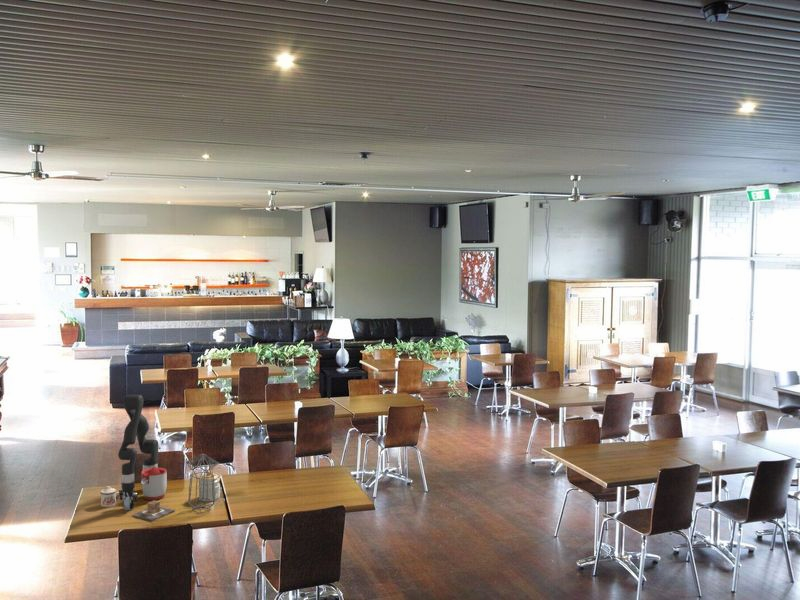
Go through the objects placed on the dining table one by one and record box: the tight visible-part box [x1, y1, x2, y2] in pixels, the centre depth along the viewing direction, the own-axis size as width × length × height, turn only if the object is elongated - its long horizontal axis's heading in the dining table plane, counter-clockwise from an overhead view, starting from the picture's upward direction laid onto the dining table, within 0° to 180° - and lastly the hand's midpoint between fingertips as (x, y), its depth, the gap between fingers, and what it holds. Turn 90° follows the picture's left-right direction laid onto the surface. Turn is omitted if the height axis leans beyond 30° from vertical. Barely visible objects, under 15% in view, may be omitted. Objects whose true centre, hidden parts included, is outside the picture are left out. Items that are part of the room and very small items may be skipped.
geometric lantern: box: [185, 453, 220, 514], centre depth 446 cm, size 16×16×35 cm
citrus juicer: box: [140, 467, 168, 501], centre depth 466 cm, size 16×17×20 cm
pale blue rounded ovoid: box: [123, 497, 133, 511], centre depth 446 cm, size 5×5×6 cm
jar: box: [199, 470, 221, 502], centre depth 467 cm, size 13×13×18 cm
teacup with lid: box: [100, 485, 120, 508], centre depth 453 cm, size 12×9×12 cm
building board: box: [131, 506, 176, 522], centre depth 439 cm, size 18×16×2 cm
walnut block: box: [146, 500, 161, 514], centre depth 439 cm, size 5×5×6 cm
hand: (128, 507), depth 446 cm, fingers closed on pale blue rounded ovoid, 5 cm apart
